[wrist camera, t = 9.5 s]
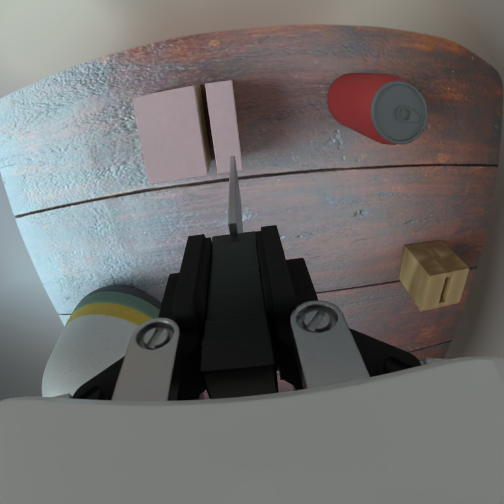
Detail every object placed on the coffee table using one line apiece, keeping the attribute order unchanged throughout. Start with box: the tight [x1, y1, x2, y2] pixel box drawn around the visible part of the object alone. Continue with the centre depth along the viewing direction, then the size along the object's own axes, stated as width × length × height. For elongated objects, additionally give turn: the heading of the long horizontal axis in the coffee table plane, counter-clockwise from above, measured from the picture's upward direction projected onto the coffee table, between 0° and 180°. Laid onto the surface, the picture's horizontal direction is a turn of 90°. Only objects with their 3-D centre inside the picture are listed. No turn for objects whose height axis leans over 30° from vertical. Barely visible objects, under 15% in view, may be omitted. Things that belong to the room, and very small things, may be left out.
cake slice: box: [205, 80, 243, 174], centre depth 31 cm, size 2×9×6 cm, turn 6°
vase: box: [42, 286, 161, 397], centre depth 37 cm, size 17×17×24 cm
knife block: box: [399, 240, 469, 311], centre depth 41 cm, size 7×6×8 cm
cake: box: [133, 85, 211, 184], centre depth 31 cm, size 6×9×6 cm, turn 6°
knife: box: [199, 156, 278, 399], centre depth 14 cm, size 2×3×16 cm, turn 6°
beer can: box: [328, 73, 428, 145], centre depth 28 cm, size 7×7×12 cm
